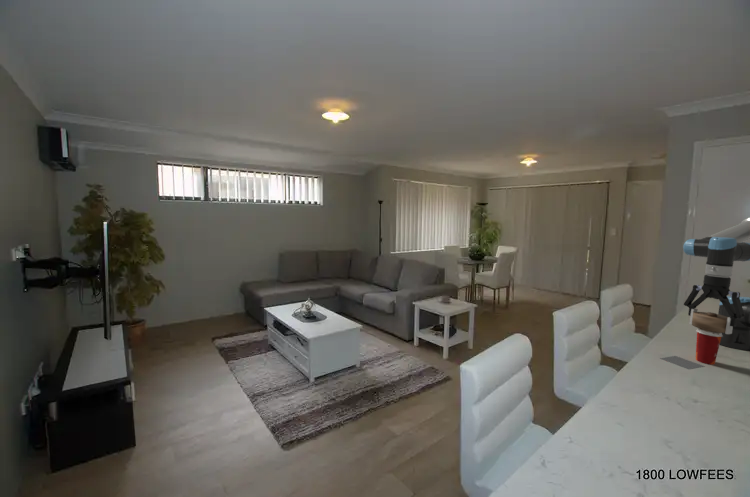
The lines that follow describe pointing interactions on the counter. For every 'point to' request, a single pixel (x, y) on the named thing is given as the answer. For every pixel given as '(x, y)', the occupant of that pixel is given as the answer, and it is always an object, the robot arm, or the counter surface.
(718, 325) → the lid
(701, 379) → the counter surface
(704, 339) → the paper cup
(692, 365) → the mat
